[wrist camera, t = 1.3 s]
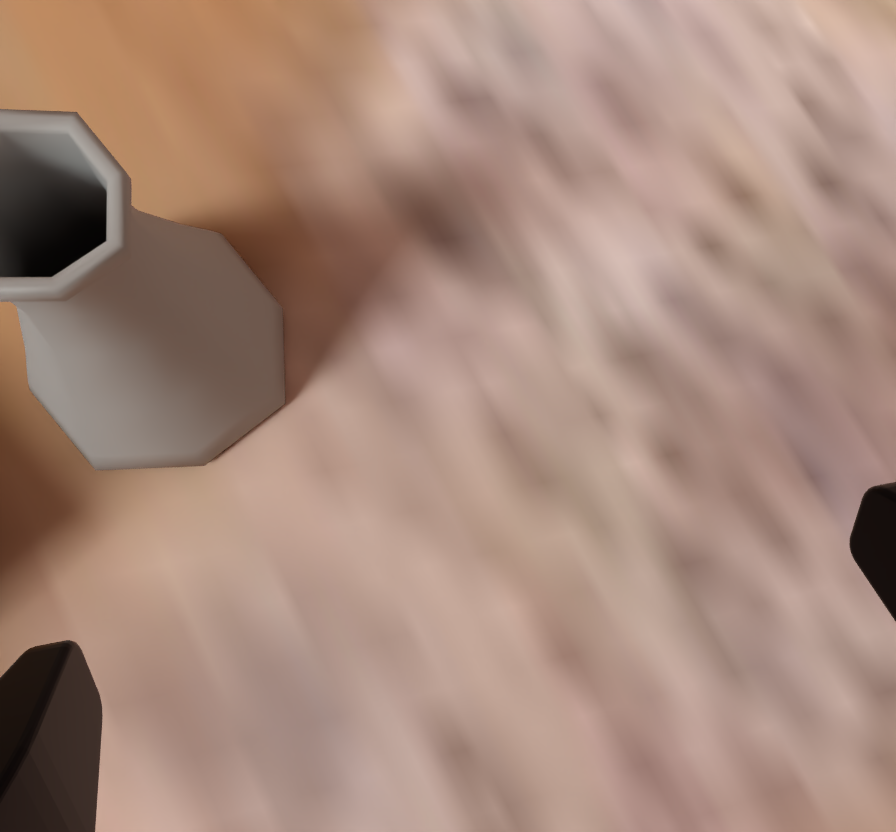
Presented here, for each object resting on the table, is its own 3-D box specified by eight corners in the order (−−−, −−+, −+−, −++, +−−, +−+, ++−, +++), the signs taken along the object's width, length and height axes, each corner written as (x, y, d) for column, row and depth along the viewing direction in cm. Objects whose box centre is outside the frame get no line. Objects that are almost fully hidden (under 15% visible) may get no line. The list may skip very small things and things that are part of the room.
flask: (325, 422, 21) (326, 339, 12) (76, 513, 20) (-163, 504, 10) (242, 201, 22) (175, -55, 12) (-8, 273, 20) (-310, 47, 11)
